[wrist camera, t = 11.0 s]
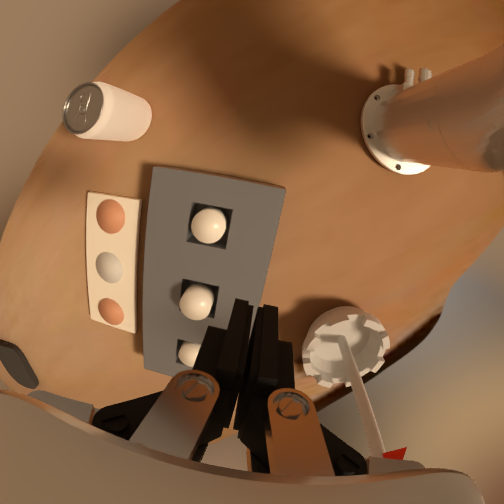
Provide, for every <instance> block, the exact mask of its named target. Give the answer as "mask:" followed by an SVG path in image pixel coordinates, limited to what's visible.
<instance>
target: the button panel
mask: <svg viewBox="0 0 504 504" xmlns="http://www.w3.org/2000/svg"><path fill="white" fill-rule="evenodd" d="M285 193H286V189H285V187H282V186H277V185H272V184H268V183H263V182H258V181H253V180H248V179H243V178H237V177H232V176H227V175H221V174H215V173H209V172H203V171H197V170H191V169H184V168H177V167H170V166H153V173H152V180H151V188H150V196H149V205H148V214H147V225H146V237H145V252H144V271H143V354H144V368H145V369H148V370H151V371H154V372H158V373H161V374H165V375H168V376H172V377H174V376H175V375H176V374H177V373H179V372H181V371H185V370H192V368H193V367H190V366H187V365H185V364H184V363H182V362H181V360H180V359H179V356H178V353H179V351H180V348H181V346H182V344H183V341H184V340H185V341H189V342H193V343H197V344H202V341H203V339H204V336H205V333H206V331H207V328H208V326H213V327H217V328H222V329H226V330H227V328H228V324H229V320H230V317H231V313H232V309H233V305H234V302H235V298H237V299H242V300H246V301H249V305H252V306H254V308H253V315H252V322H251V329H250V335H251V332H252V328H253V324H254V320H255V316H256V312H257V308H258V307H259V305H260V301H261V297H262V293H263V288H264V284H265V280H266V276H267V272H268V267H269V263H270V259H271V255H272V250H273V246H274V242H275V237H276V233H277V229H278V224H279V220H280V215H281V211H282V206H283V202H284V197H285ZM208 206H217V207H220V208H221V209H223V210H224V211H225V213H226V214H227V217H228V227H227V229H226V231H225V232H224V234H223V236H222V237H221V238H220V239H219V240H218V241H216V242H214V243H203V242H201V241H199V240H198V239H197V238H196V237H195V236H194V235H193V232H192V229H191V223H192V220H193V218H194V216H195V215H196V214H197V213H199V212H200V211H201V210H203V209H204V208H206V207H208ZM194 282H201V283H205V284H207V285H209V286H210V287H211V288H212V290H213V292H214V295H215V298H214V302H213V304H212V307H211V310H210V312H209V314H208V316H207V317H206V318H204V319H202V320H192V319H190V318H188V317H186V316H185V315H184V314H183V313H182V311H181V309H180V305H179V303H180V299H181V298H182V296H183V294H184V293H185V291H186V289H187V288H188V286H189V285H190V284H192V283H194ZM249 339H250V336H249Z"/></svg>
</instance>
